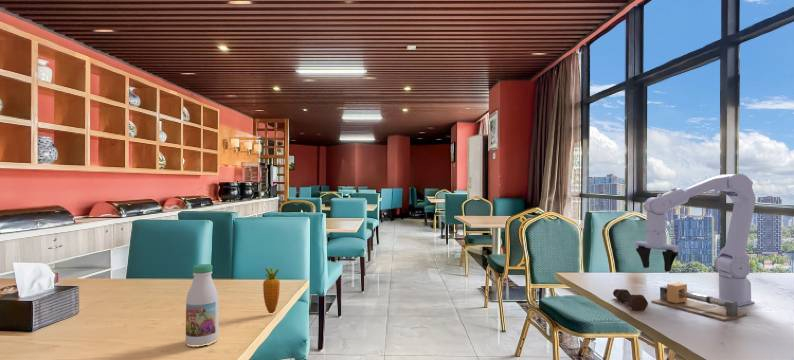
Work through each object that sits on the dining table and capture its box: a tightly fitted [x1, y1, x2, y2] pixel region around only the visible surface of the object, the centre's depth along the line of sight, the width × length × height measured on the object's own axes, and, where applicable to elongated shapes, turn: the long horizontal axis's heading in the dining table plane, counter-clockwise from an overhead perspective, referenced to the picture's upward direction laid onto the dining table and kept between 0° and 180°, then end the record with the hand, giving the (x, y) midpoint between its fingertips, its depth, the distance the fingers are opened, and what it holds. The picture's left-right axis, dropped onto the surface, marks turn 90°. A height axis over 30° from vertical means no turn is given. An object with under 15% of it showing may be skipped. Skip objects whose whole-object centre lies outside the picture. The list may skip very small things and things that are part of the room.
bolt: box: [612, 288, 649, 312], centre depth 139 cm, size 6×5×15 cm
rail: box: [659, 285, 739, 317], centre depth 134 cm, size 22×3×5 cm, turn 25°
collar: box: [666, 282, 688, 303], centre depth 139 cm, size 3×6×6 cm, turn 115°
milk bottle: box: [185, 263, 220, 345], centre depth 107 cm, size 8×8×20 cm
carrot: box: [262, 266, 281, 314], centre depth 129 cm, size 5×5×15 cm
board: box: [650, 298, 748, 322], centre depth 134 cm, size 22×12×1 cm, turn 25°
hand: (656, 269), depth 146 cm, fingers open, 7 cm apart
